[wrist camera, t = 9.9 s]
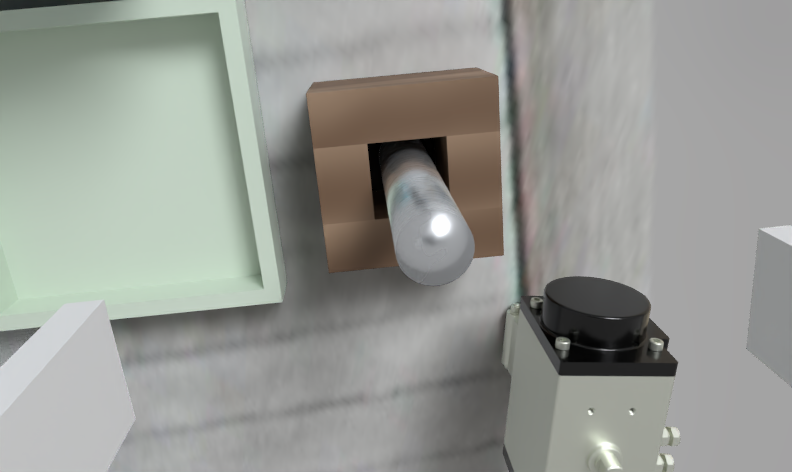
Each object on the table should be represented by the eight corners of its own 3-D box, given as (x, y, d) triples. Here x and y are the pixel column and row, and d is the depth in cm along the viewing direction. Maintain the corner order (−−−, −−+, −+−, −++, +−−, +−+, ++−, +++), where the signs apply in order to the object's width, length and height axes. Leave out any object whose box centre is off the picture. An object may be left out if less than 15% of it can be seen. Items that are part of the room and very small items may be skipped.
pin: (376, 134, 32) (391, 214, 19) (424, 129, 32) (472, 206, 19) (380, 180, 33) (398, 289, 19) (427, 176, 33) (476, 281, 20)
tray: (-78, 21, 29) (-117, 20, 27) (243, -7, 29) (233, -10, 27) (11, 310, 34) (-15, 332, 31) (287, 282, 34) (282, 302, 32)
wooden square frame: (313, 82, 31) (305, 93, 26) (476, 67, 31) (498, 75, 26) (332, 237, 34) (329, 273, 29) (482, 222, 34) (503, 255, 29)
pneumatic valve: (482, 421, 38) (537, 593, 26) (501, 235, 34) (575, 342, 23) (573, 421, 38) (665, 590, 27) (602, 237, 35) (723, 344, 23)
